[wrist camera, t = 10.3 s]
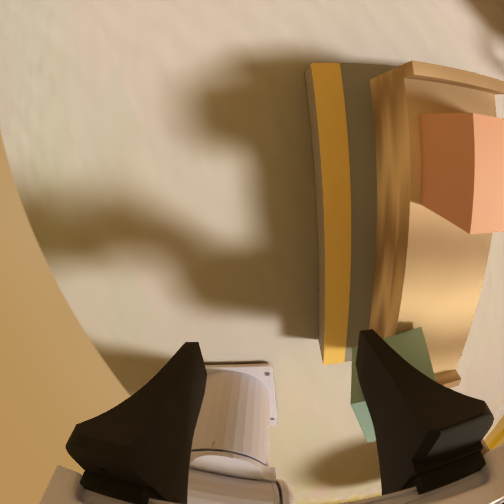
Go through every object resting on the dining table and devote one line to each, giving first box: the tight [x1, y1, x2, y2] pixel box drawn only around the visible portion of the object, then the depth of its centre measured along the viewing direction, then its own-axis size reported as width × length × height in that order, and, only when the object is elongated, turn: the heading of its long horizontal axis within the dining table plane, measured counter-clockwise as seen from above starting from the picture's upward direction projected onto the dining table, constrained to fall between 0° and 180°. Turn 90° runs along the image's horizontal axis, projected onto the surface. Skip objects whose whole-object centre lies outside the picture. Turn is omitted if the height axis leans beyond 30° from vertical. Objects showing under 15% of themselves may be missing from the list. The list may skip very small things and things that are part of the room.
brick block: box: [419, 113, 504, 234], centre depth 9 cm, size 4×4×4 cm
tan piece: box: [369, 61, 504, 388], centre depth 14 cm, size 18×6×6 cm, turn 6°
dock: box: [305, 63, 396, 365], centre depth 18 cm, size 20×12×3 cm, turn 6°
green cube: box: [351, 327, 436, 443], centre depth 13 cm, size 4×4×4 cm
